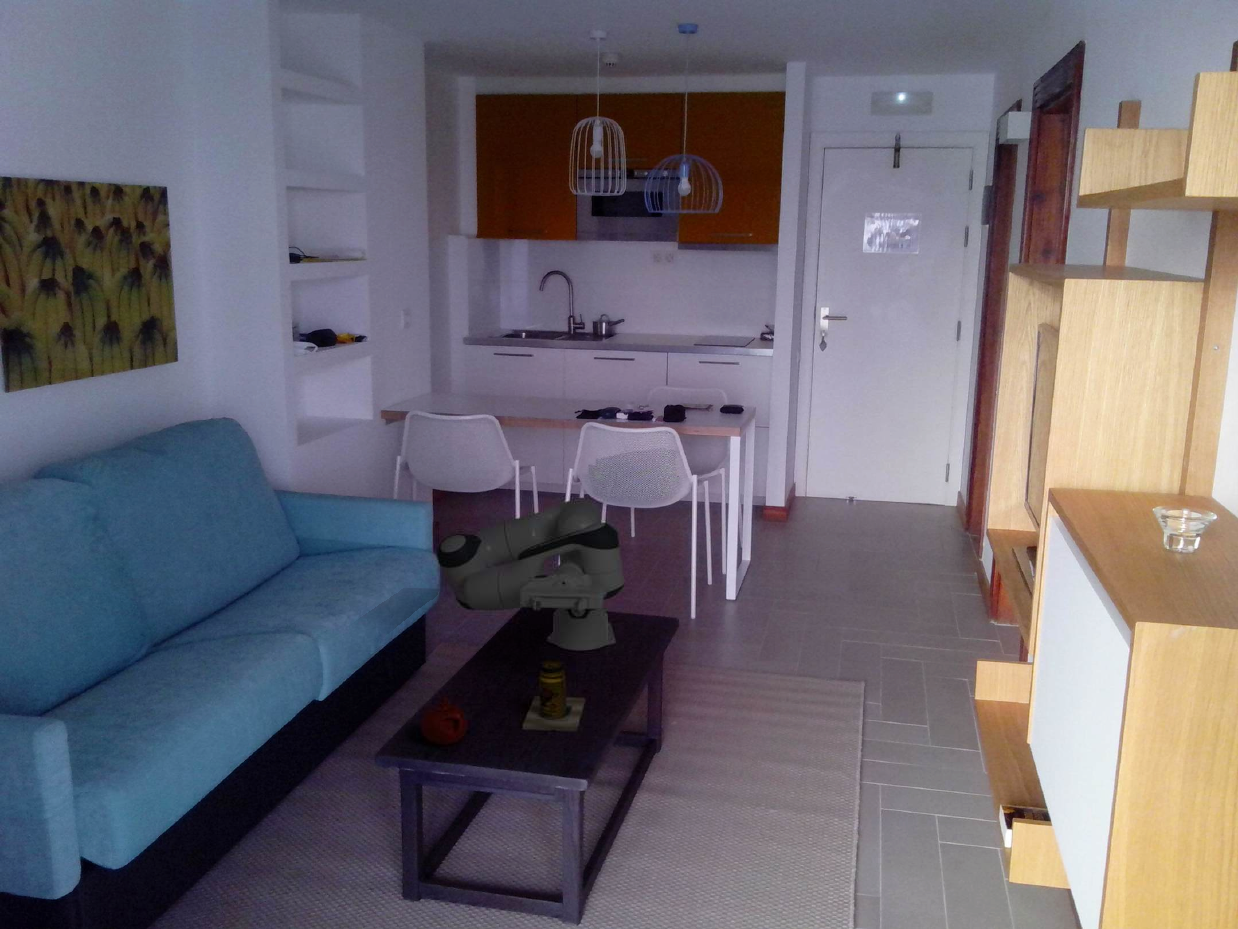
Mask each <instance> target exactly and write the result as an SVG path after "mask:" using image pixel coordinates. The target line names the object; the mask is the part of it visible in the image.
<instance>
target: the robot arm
mask: <svg viewBox="0 0 1238 929" xmlns="http://www.w3.org/2000/svg"><path fill="white" fill-rule="evenodd" d="M601 520H602V516H601V511H600V509H599V507H598V505H597V504H596V503H595V502H594V501H592V500H591V499H589V498H586V497H577V498H573V499H571V500H567V501H564V502H561V503H559V504H557V505H553V506H551V507H548V508H545V509H543V510H540V511H539V512H536V513H535V512H534V513H533V514H529V515H525V516H521V517H518V518H514V519H510V520H507V521H504V522H500V523H497V524H493V525H490V526H488V527H486V528H484V529H482V530H479V531H478V532H476V533H474V534H468V533H455V534H451V535H449V536H447V537H446V538H444V539H443V540H442V541H441V542H440V543H439V545H438V546H437V549H436V556H437V561H438V564H439V565H440V568H441V572H442V573H443V576H444V579H445V581H446V583H447V584H448V586H449V587H450V589H451V591H452V593H453V594H454V596H455V597H454V598H455V599H456V601H457V602H458V604H459V605H460V606H461V607H462V608H464V609H466V610H469V611H470V610H471V611H506V610H513V609H518V608H533V610H534V611H541V610H542V609H556V610H555V611H554V612H553V616H552V617H553V619H552V620H553V621H552V622H553V624H552V626H553V627H552V628H553V629H552V632H551V633H550V634H549V635H548V636H547V638H546V642H549V643H551V644H553V645H556V646H557V647H558V648H561V649H565V650H570V651H589V650H591V651H593V650H595V649H596V650H597V649H600V648H602V647H604V646H609V645H614V644H616V643H617V641H616V637H615V633H614V629H613V626H612V623H611V622H608V621H609V620H608V619H609V618H608V616H609V615H608V613H607V611H606V610H605V607H604V602H605V600H609V599H611V598H614V597H615V596H616V595H617V594H618V593H619V592H621V591H622V589H623V588H624V586H625V584H626V580H625V579H626V578H625V573H624V569H623V561H622V555H621V551H620V541H619V538H620V537H619V531H617V529H615V528H614V527H613V526H611V525H610V524H608V523H607V522H602V521H601ZM557 556H559V565H558V566H557V567H556V568H555V569H554V571H553V572H551V573H547V574H543V573H544V571H543V570H544V567H545V565H546V562H547V561H548V560H549V559H552V558H554V557H557ZM509 563H510V564H509ZM505 564H507V565H505ZM497 565H499V566H497ZM500 565H502V566H500ZM492 566H495V567H492Z"/></svg>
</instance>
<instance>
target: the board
mask: <svg viewBox="0 0 1238 929" xmlns="http://www.w3.org/2000/svg"><path fill="white" fill-rule="evenodd" d="M585 704H586V698H584V697H567V696H566V705H573V706H572V710H571V713H570V715H569V718H568V721H561V720H560V721H549V720H536V717H537V715H538V713H539V710H540V696H537V695H536V696H533V700H532V702H531V704H530V707H529V709H528V711H527V714H526V717H525V719H524V721H523V724H522V730H527V731H528V730H529V731H530V730H531V731H532V730H533V731H551V730H556V731H557V732H577V731H578V728H577V727H579V724H580V720H581V718H582V715H583V711H584V708H585ZM583 707H584V708H583ZM582 710H583V711H582ZM556 731H555V732H556Z"/></svg>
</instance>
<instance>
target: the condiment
mask: <svg viewBox="0 0 1238 929" xmlns="http://www.w3.org/2000/svg"><path fill="white" fill-rule="evenodd" d="M564 669H565V665H564V663H563V662H561V661H557V660H552V661H551V660H550V661H546V662H545V661H544V662H542V664H541V665H540V676H539V678H538V684H539V687H538V688H539V692H538V693H539V694H538V695H539V697H540V710H539V713H538V715H537V717H536V720H549V721H560V720H561V721H568V718H569V715H570V713H571V710H572V706H573V705H566V697H567V677H566V676H567V675H566V674H565V670H564Z"/></svg>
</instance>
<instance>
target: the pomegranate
mask: <svg viewBox="0 0 1238 929" xmlns="http://www.w3.org/2000/svg"><path fill="white" fill-rule="evenodd" d="M441 701H442V704H441V703H439V702H438V701H434V700H433V703H434V704H437V705H438V706H436V705H433V704H432V705H430V706H429V707H428V708H426V710H427V711H425V712H424V713H423V715H422V719H421V722H420V729H421V734H422V735H423V736H424V737H425V739H426V740H427V741H429V742H431V743H432V744H435V745H443V746H445V745H446V746H447V745H453V744H455V743H457V742H459V741H460V740H461V739H462V738H463V737H464V736H465V734H466V731H467V728H468V720H467V718H466V716H465V714H464V712H463V710H462V709H463V707H462V708H461V707H460V706H459V705H450V704H451V703H452V702H454V700H449V701H448V697H442V698H441Z"/></svg>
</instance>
